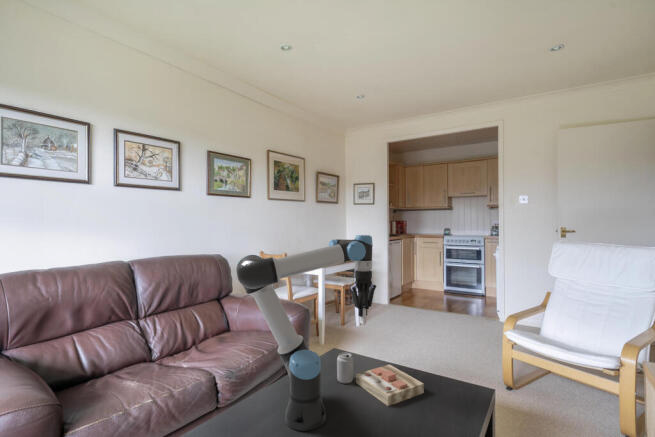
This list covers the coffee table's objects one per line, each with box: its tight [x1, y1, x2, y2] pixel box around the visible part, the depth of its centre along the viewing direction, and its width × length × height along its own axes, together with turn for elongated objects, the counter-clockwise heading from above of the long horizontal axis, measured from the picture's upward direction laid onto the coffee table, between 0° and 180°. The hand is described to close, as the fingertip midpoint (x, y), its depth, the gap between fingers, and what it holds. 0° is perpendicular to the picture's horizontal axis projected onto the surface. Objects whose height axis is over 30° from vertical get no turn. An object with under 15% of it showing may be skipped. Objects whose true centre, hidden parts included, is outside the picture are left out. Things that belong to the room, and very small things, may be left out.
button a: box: [392, 380, 407, 390], centre depth 138 cm, size 4×4×4 cm
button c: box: [371, 366, 385, 376], centre depth 150 cm, size 4×4×4 cm
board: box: [355, 364, 425, 407], centre depth 144 cm, size 20×22×4 cm
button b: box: [382, 370, 396, 383], centre depth 144 cm, size 4×4×4 cm
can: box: [336, 352, 354, 385], centre depth 151 cm, size 8×8×12 cm
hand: (362, 323), depth 143 cm, fingers closed
